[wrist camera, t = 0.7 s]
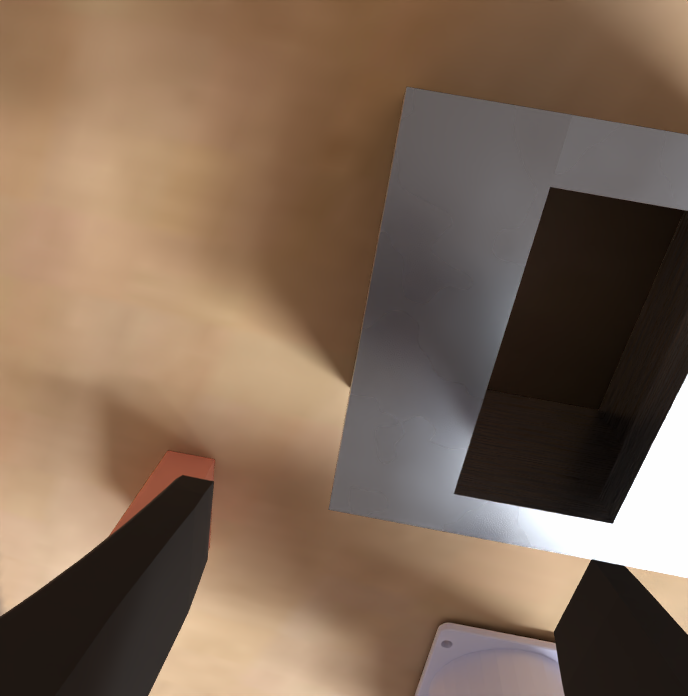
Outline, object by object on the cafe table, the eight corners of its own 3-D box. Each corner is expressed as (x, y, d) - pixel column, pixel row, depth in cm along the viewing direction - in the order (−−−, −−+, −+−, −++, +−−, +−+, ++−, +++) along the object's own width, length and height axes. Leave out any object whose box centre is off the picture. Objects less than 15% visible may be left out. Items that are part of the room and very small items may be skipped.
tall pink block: (209, 546, 24) (164, 649, 19) (167, 538, 24) (112, 639, 19) (214, 458, 22) (165, 551, 17) (168, 449, 22) (106, 539, 17)
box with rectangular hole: (615, 437, 19) (710, 581, 13) (349, 388, 19) (328, 509, 14) (746, 153, 15) (970, 182, 9) (404, 95, 15) (406, 86, 9)
